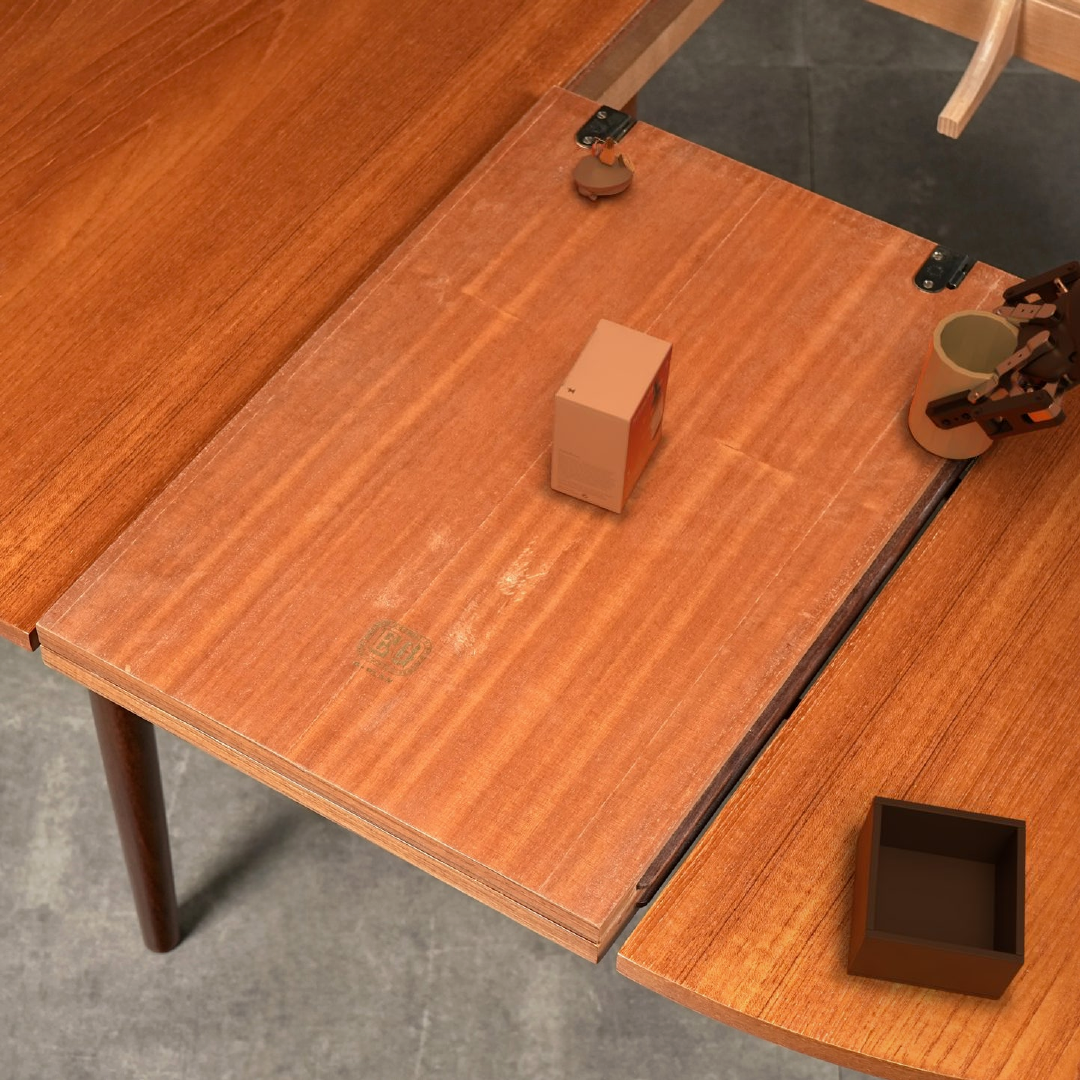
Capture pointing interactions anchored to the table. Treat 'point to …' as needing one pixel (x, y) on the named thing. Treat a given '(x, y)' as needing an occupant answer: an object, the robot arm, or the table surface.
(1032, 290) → the robot arm
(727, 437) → the table surface
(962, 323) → the tumbler
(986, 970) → the basket
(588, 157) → the figurine
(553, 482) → the small box
